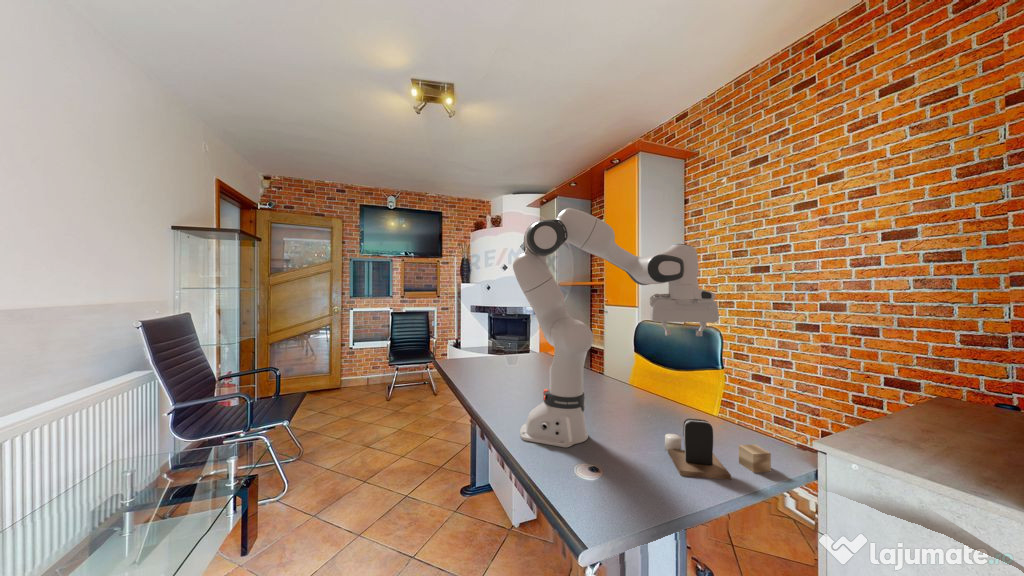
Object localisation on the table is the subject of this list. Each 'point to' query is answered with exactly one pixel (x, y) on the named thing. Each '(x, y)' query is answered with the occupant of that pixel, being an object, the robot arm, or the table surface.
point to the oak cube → (754, 458)
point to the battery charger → (698, 441)
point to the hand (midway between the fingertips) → (683, 335)
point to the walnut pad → (698, 466)
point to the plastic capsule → (672, 442)
